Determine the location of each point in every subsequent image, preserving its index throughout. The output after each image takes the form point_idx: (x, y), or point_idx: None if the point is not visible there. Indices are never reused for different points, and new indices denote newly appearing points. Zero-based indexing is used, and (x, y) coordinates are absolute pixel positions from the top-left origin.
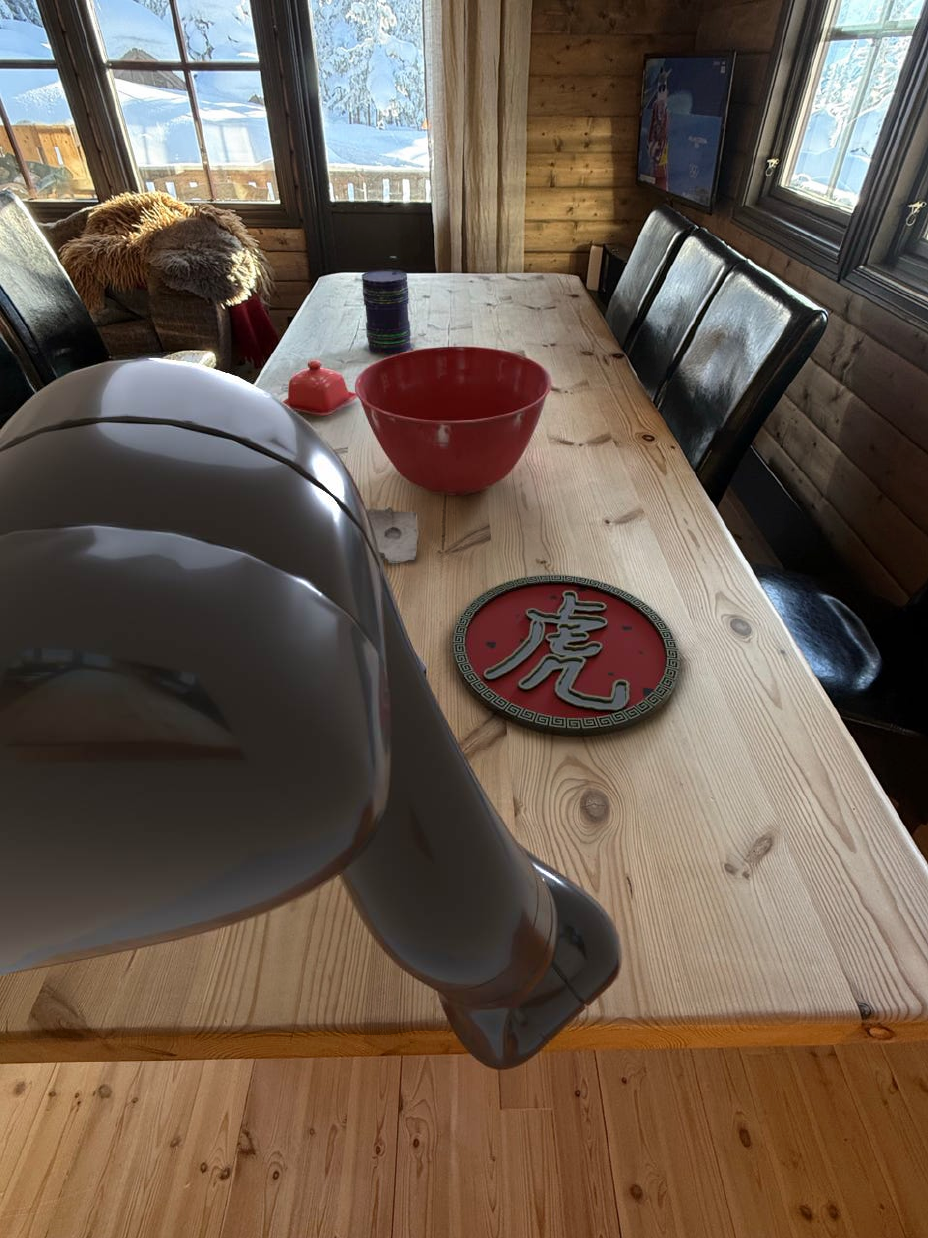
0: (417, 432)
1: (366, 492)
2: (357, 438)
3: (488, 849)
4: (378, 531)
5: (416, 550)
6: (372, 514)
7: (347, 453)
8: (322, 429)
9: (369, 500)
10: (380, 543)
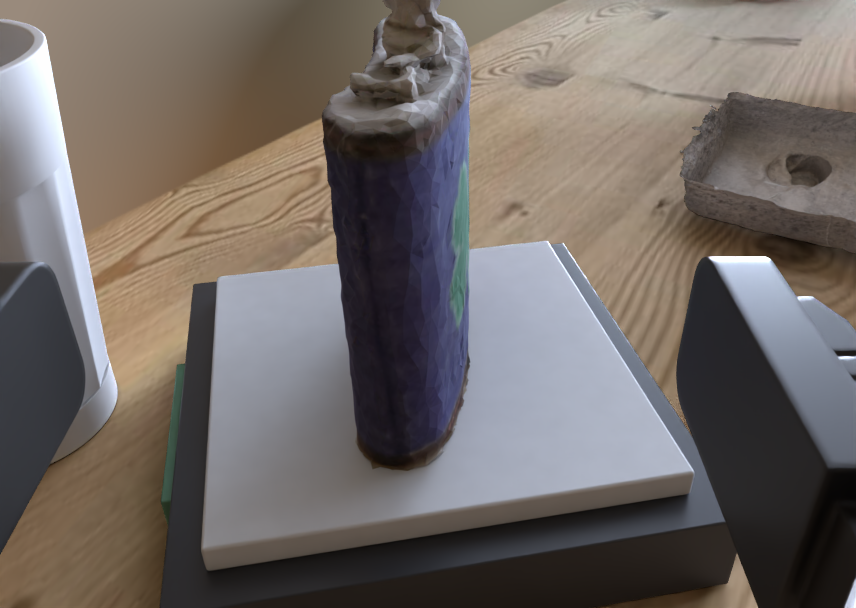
0: None
1: None
2: (827, 30)
3: None
4: (852, 178)
5: None
6: (848, 129)
7: (797, 47)
8: (753, 10)
9: None
10: (849, 208)
